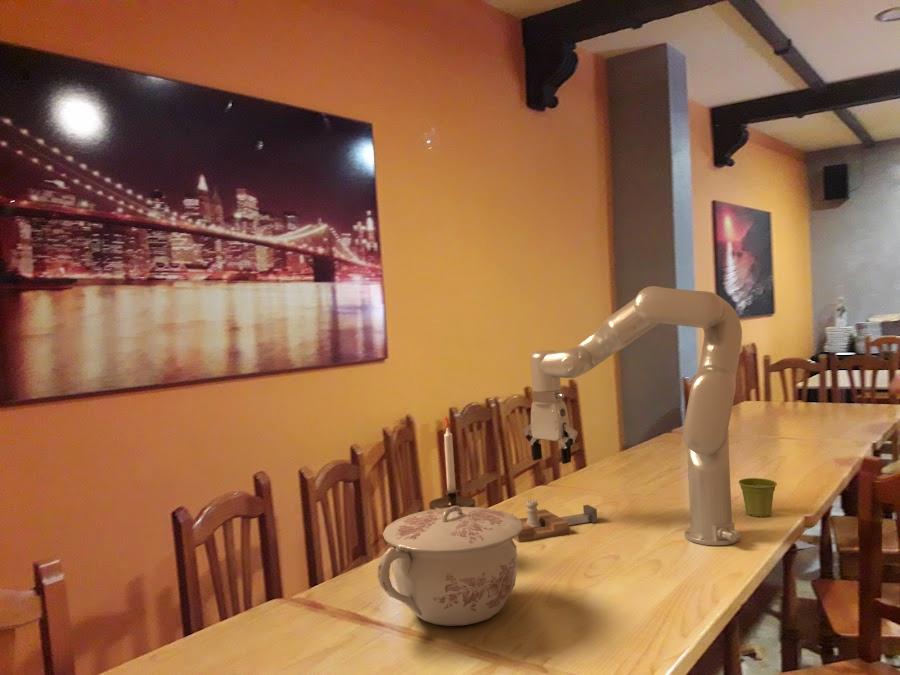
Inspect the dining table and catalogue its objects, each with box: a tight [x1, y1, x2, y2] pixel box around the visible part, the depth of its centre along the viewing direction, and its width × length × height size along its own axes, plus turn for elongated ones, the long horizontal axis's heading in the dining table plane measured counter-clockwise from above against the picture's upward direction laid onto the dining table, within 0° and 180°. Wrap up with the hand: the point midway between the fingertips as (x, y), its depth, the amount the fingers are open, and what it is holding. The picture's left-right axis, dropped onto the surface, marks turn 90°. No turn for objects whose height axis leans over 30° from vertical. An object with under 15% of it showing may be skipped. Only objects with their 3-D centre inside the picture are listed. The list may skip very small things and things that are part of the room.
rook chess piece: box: [525, 498, 541, 529], centre depth 182 cm, size 4×4×8 cm
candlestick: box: [428, 414, 477, 510], centre depth 161 cm, size 11×11×35 cm
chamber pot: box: [377, 506, 523, 627], centre depth 135 cm, size 28×28×21 cm
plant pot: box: [738, 477, 778, 518], centre depth 185 cm, size 9×9×9 cm
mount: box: [511, 508, 570, 543], centre depth 182 cm, size 14×14×3 cm
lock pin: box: [559, 504, 598, 526], centre depth 186 cm, size 5×11×4 cm, turn 108°
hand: (551, 461), depth 184 cm, fingers open, 9 cm apart
